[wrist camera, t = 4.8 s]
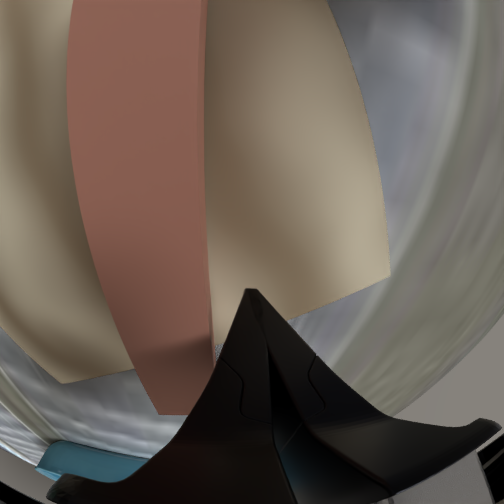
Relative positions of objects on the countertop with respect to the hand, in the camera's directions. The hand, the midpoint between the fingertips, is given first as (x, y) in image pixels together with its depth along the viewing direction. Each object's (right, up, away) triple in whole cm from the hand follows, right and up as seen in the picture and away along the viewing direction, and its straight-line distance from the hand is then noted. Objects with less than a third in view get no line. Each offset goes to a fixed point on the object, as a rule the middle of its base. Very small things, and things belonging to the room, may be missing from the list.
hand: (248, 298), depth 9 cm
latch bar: (-3, +5, -1) cm, 6 cm away
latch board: (-7, +5, 0) cm, 8 cm away
